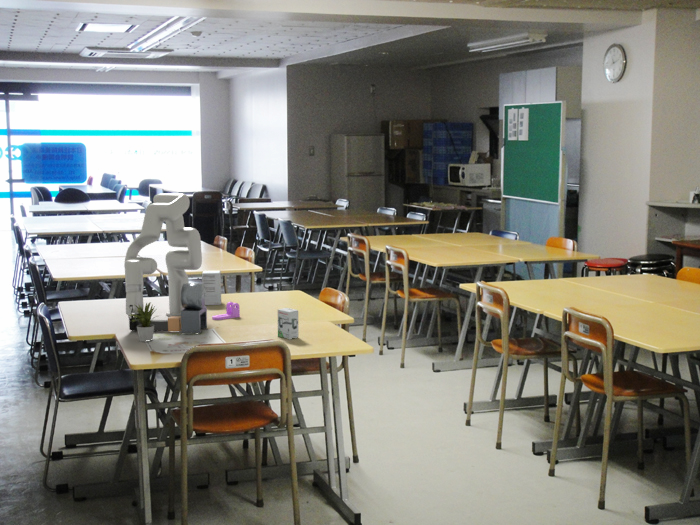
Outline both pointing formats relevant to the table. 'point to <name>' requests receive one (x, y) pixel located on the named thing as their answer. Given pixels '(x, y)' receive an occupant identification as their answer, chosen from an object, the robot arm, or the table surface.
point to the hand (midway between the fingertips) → (136, 327)
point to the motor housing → (193, 308)
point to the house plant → (144, 322)
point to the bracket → (229, 312)
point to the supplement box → (212, 287)
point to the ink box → (288, 323)
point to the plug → (166, 324)
